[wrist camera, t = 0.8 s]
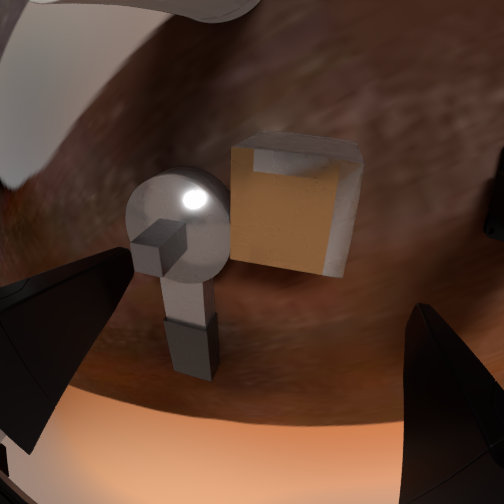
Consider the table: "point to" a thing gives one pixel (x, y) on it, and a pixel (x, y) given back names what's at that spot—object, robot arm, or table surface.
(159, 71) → the table surface
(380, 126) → the table surface
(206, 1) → the cup
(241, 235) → the grey brown boxy block
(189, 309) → the ratchet
